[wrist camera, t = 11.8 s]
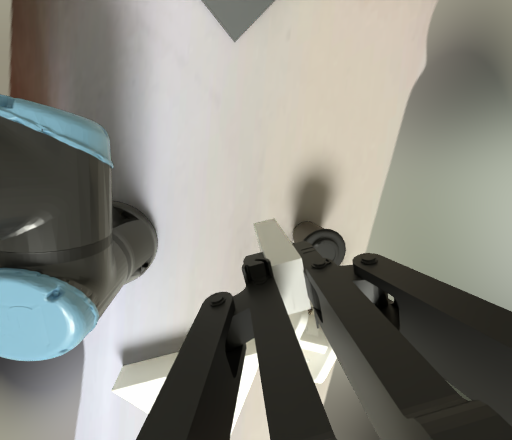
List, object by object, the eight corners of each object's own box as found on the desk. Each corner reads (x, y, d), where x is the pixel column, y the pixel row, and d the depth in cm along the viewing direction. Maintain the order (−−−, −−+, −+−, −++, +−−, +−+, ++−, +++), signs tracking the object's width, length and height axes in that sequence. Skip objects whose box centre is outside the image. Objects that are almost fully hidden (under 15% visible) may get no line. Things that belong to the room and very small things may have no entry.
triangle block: (260, 329, 56) (264, 351, 50) (280, 412, 64) (285, 440, 57) (124, 363, 54) (111, 390, 48) (161, 445, 62) (154, 477, 56)
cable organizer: (287, 275, 52) (304, 309, 41) (331, 288, 54) (359, 324, 43) (261, 333, 56) (270, 380, 44) (304, 344, 58) (323, 391, 47)
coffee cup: (302, 206, 48) (320, 221, 39) (333, 228, 50) (359, 247, 41) (277, 240, 50) (290, 263, 40) (309, 260, 52) (328, 285, 42)
